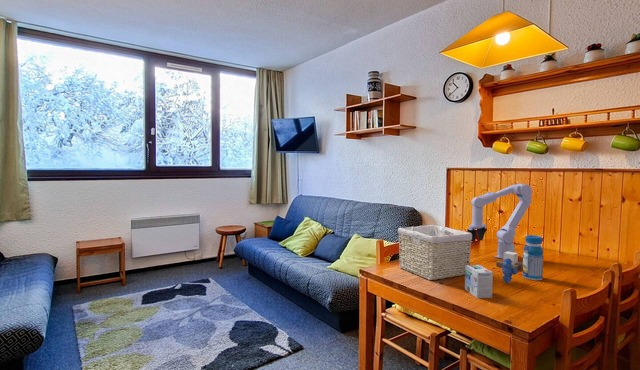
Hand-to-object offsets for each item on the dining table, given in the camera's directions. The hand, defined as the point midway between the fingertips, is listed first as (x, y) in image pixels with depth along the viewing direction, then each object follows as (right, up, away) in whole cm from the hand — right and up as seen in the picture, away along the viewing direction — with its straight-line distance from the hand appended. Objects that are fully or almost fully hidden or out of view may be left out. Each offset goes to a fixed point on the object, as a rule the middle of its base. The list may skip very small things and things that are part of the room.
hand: (476, 241), depth 206 cm
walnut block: (+9, -11, -20) cm, 24 cm away
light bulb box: (-25, -13, -57) cm, 64 cm away
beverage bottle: (+10, -12, -37) cm, 40 cm away
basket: (-34, -12, -26) cm, 44 cm away
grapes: (-5, -12, -45) cm, 47 cm away
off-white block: (+9, -8, -20) cm, 23 cm away
